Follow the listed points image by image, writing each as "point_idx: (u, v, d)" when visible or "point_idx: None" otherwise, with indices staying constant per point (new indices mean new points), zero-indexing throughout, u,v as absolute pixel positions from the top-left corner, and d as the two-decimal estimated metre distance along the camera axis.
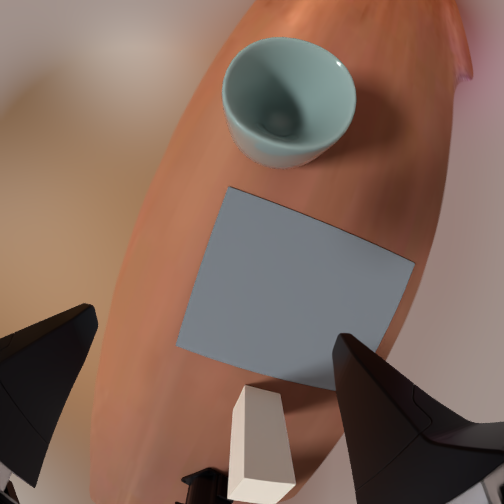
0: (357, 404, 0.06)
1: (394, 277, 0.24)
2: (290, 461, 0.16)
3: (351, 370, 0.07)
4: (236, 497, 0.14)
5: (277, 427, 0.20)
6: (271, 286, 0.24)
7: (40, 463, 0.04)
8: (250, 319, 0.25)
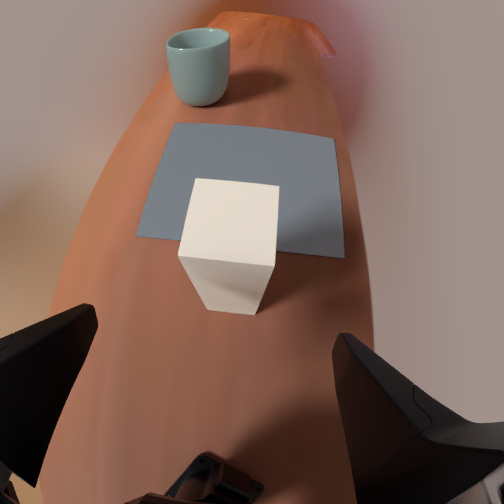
0: (357, 404, 0.06)
1: (320, 148, 0.30)
2: None
3: (351, 370, 0.07)
4: (193, 244, 0.11)
5: None
6: (217, 166, 0.28)
7: (40, 463, 0.04)
8: None
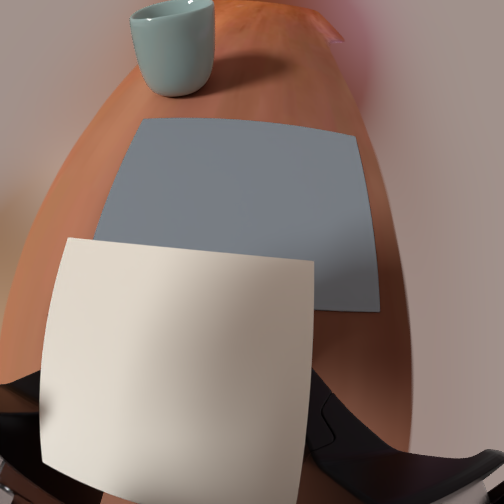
0: None
1: (339, 148, 0.22)
2: None
3: None
4: (66, 447, 0.02)
5: None
6: (194, 176, 0.19)
7: (100, 492, 0.04)
8: (174, 217, 0.18)
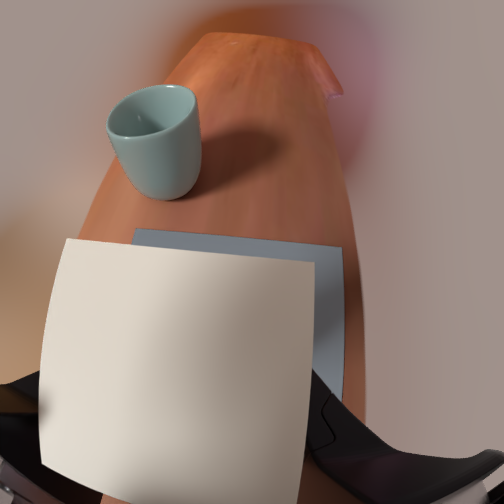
0: None
1: (324, 266, 0.24)
2: None
3: None
4: (65, 449, 0.02)
5: None
6: None
7: (99, 493, 0.04)
8: None
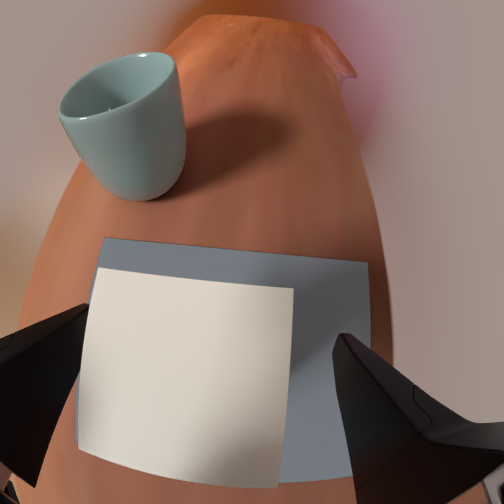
0: (357, 404, 0.06)
1: (346, 288, 0.18)
2: None
3: (351, 370, 0.07)
4: (100, 434, 0.04)
5: None
6: None
7: (40, 463, 0.04)
8: None
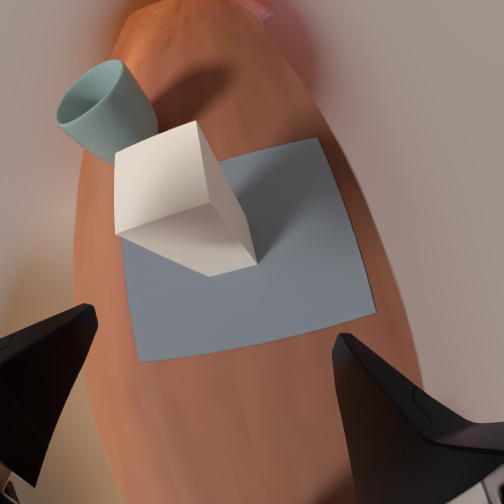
0: (357, 404, 0.06)
1: (305, 160, 0.23)
2: None
3: (351, 370, 0.07)
4: (125, 216, 0.10)
5: None
6: None
7: (40, 463, 0.04)
8: (186, 289, 0.22)
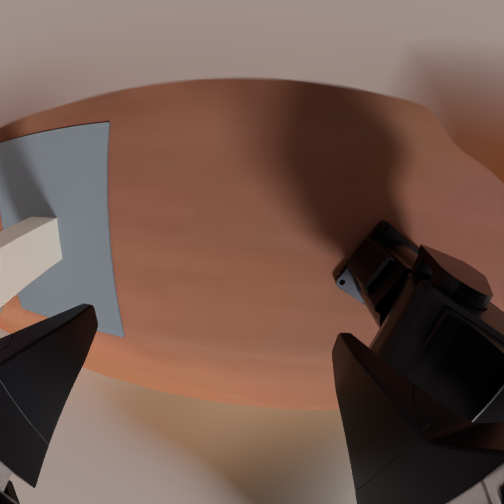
0: (357, 404, 0.06)
1: (7, 158, 0.17)
2: None
3: (351, 370, 0.07)
4: None
5: None
6: None
7: (40, 463, 0.04)
8: (70, 278, 0.22)
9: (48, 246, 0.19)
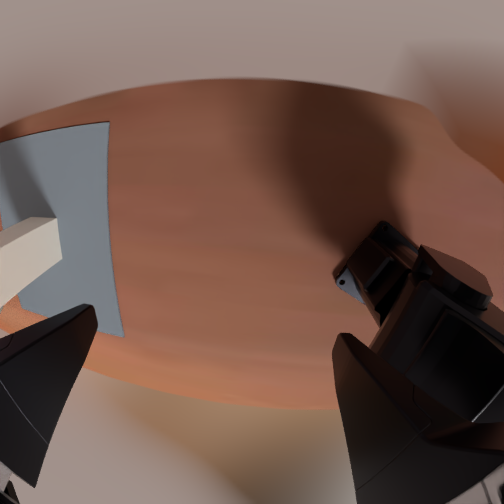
0: (357, 404, 0.06)
1: (7, 158, 0.17)
2: None
3: (351, 370, 0.07)
4: None
5: None
6: None
7: (40, 463, 0.04)
8: (70, 278, 0.22)
9: (48, 246, 0.19)
